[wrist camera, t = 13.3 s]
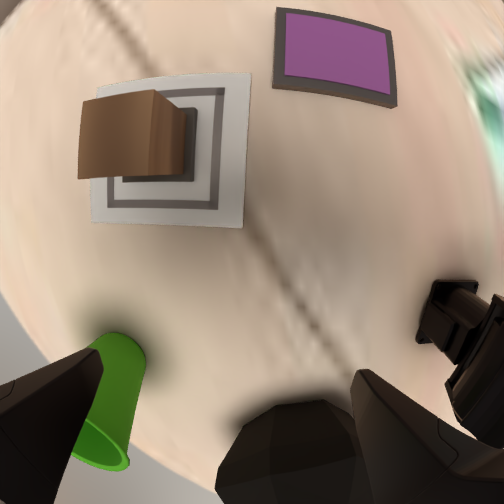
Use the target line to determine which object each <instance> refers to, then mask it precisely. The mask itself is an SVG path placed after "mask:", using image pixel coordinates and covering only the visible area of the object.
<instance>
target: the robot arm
mask: <svg viewBox="0 0 504 504" xmlns="http://www.w3.org/2000/svg"><path fill="white" fill-rule="evenodd" d="M438 285H439V286H438ZM478 285H479V284H478V282H477V281H476V280H436V281H435V282H434V284H433V287H432V290H431V294H430V297H429V301H428V304H427V307H426V311H425V314H424V317H423V320H422V323H421V326H420V329H419V331H418V334H417V337H416V342H417V343H418V344H426V343H434V344H435V346H436V347H437V348H438V349H439V350H440V351H441V352H443V353H444V354H445V355H446V356H447V357H448V358H449V360H450V361H451V362H452V363H453V364H454V365H457V364H458V366H457V367H456V369H455V370H454V372H453V374H452V375H451V377H450V378H449V379H447V381H446V382H445V387H446V390H447V393H448V396H449V399H450V402H451V405H452V408H453V411H454V414H455V417H456V419H457V421H458V422H459V423H460V425H461V426H462V427H464V428H465V429H467V430H468V431H469V432H471V433H472V434H473V435H474V436H475V437H476V439H477V440H476V439H474V438H472V437H470V436H468V435H466V434H464V433H462V432H461V431H459V430H457V429H455V428H454V427H452V426H451V425H449V424H447V423H446V422H444V421H443V420H441V419H440V418H438V417H437V416H435V415H434V414H432V413H431V412H430V411H428V410H427V409H425V408H424V407H422V406H421V405H419V404H418V403H416V402H415V401H414V400H412V399H411V398H409V397H408V396H406V395H405V394H404V393H402V392H401V391H399V390H398V389H396V388H395V387H394V386H392V385H391V384H389V383H388V382H387V381H385V380H384V379H382V378H381V377H380V376H378V375H377V374H375V373H374V372H373V371H371V370H370V369H359V370H357V372H356V374H355V376H354V379H353V382H352V385H351V388H350V393H351V399H352V406H353V412H354V419H355V425H356V430H357V434H358V437H359V441H360V445H361V449H362V452H363V456H364V460H365V464H366V468H367V472H368V476H369V480H370V484H371V489H372V493H373V497H374V502H375V504H504V449H503V448H504V297H502V296H500V295H497V294H494V295H493V297H492V302H491V304H490V305H489V304H488V303H487V302H485V301H484V300H482V299H481V298H480V297H478V296H477V295H476V292H477V289H478ZM437 286H438V287H437ZM103 372H104V366H103V363H102V359H101V356H100V353H99V351H98V350H97V349H95V348H90V347H87V348H85V349H83V350H80V351H78V352H76V353H74V354H72V355H69V356H67V357H65V358H63V359H60V360H58V361H56V362H54V363H52V364H49V365H47V366H45V367H42V368H40V369H38V370H36V371H34V372H32V373H29V374H27V375H24V376H22V377H20V378H17V379H16V380H13V381H10V382H8V383H6V384H3V385H1V386H0V504H54V501H55V498H56V495H57V491H58V488H59V485H60V482H61V480H62V477H63V474H64V471H65V469H66V466H67V463H68V461H69V458H70V456H71V453H72V451H73V448H74V446H75V443H76V441H77V439H78V436H79V434H80V431H81V429H82V427H83V425H84V422H85V420H86V418H87V416H88V413H89V411H90V409H91V407H92V404H93V401H94V399H95V396H96V393H97V390H98V387H99V384H100V381H101V378H102V375H103Z"/></svg>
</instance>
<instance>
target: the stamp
mask: <svg viewBox="0 0 504 504" xmlns="http://www.w3.org/2000/svg"><path fill="white" fill-rule="evenodd" d="M197 116H198V110H197V109H196V108H195V107H187V108H178V107H177V106H175V105H174V104H173V103H172V102H170V101H169V100H168V99H167V98H165V97H164V96H163V95H161V94H160V93H159V92H158V91H156V90H155V89H150V90H143V91H135V92H129V93H123V94H117V95H112V96H107V97H102V98H97V99H92V100H88V101H84V102H83V107H82V115H81V124H80V136H79V151H78V179H89V178H103V177H121V176H122V183H129V182H193V181H194V166H195V146H196V130H197Z"/></svg>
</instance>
